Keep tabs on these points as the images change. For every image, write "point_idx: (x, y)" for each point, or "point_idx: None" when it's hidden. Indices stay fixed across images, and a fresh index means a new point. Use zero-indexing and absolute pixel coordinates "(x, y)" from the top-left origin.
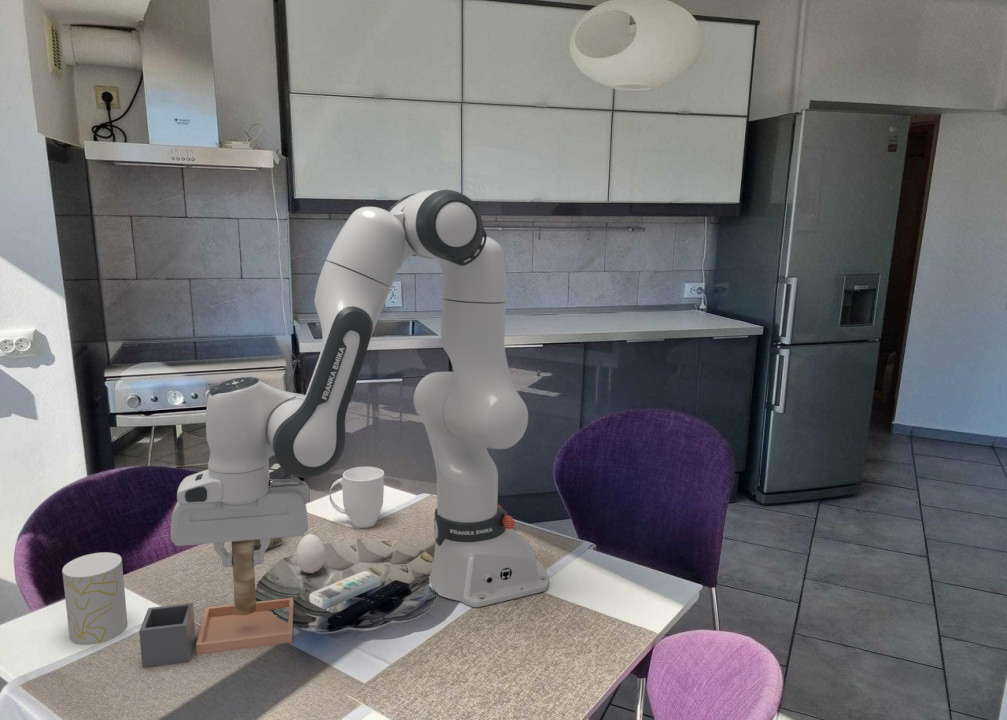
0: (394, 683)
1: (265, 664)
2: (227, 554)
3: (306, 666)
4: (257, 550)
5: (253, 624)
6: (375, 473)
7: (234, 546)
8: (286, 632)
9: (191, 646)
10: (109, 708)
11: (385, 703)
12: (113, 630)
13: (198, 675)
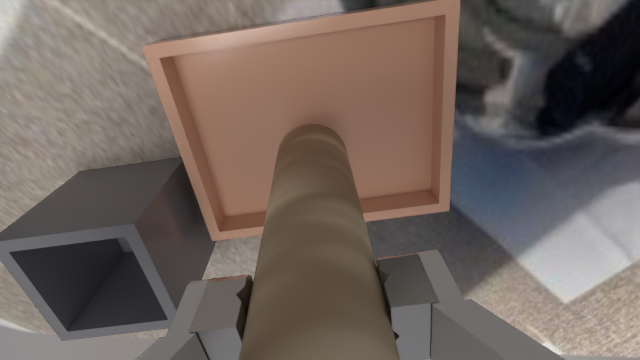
0: (616, 307)
1: (380, 249)
2: (206, 350)
3: (465, 259)
4: (419, 309)
5: (327, 110)
6: None
7: None
8: (435, 206)
9: (197, 225)
10: None
11: (582, 342)
12: None
13: (249, 270)
